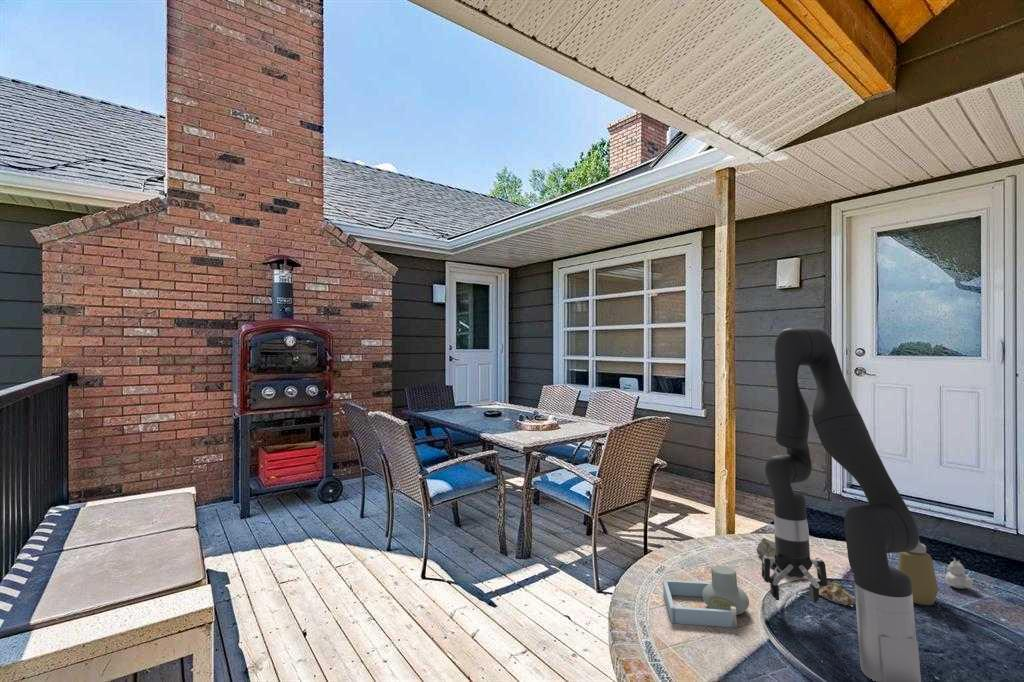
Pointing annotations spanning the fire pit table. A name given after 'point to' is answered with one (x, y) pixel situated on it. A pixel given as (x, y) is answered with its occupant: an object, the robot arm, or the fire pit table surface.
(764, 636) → the fire pit table surface
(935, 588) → the squeeze bottle
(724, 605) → the air freshener
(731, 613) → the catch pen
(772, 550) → the rock
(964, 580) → the rubber duck
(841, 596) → the mineral rock
